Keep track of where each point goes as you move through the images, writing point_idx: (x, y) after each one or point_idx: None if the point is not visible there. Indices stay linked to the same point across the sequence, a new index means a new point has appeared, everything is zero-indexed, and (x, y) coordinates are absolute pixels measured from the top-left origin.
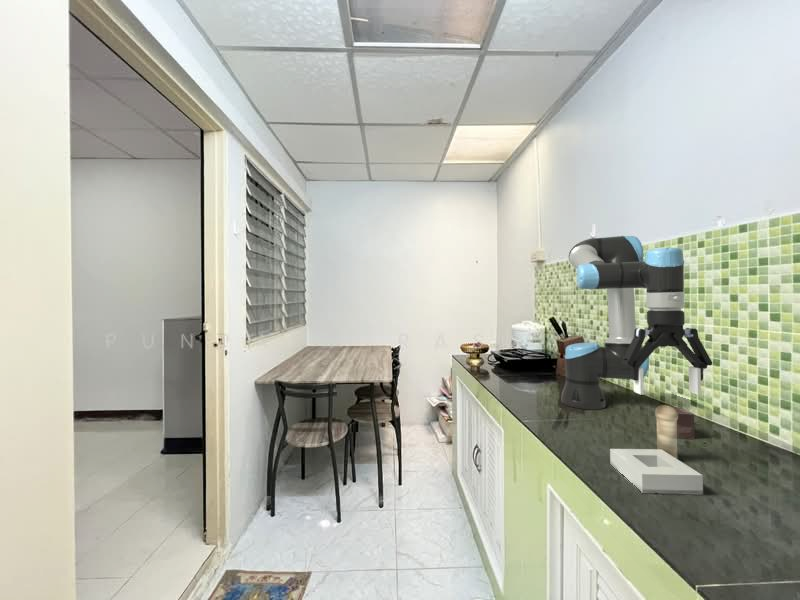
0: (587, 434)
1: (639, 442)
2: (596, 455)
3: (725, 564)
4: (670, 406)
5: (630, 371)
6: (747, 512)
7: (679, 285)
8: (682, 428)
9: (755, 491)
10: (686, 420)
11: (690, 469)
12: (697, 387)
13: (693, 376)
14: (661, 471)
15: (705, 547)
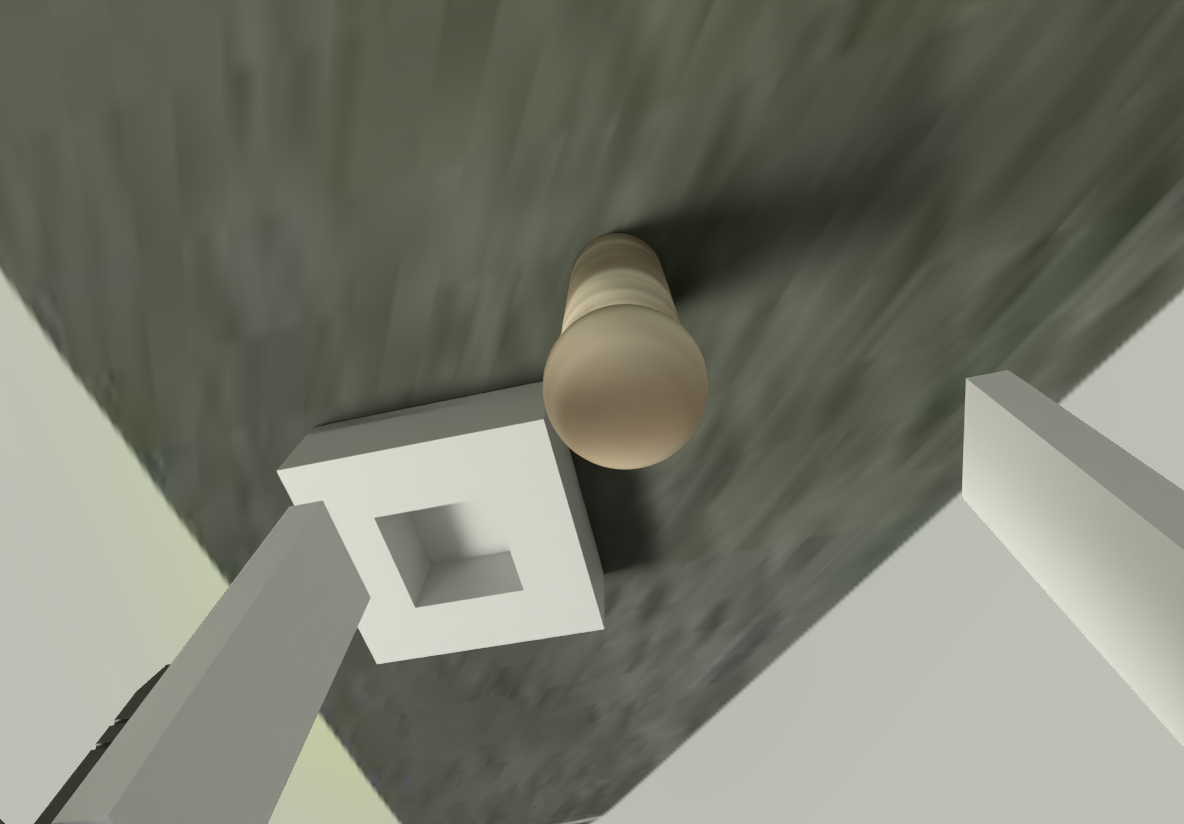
0: None
1: (544, 36)
2: (253, 332)
3: (498, 805)
4: (659, 430)
5: (68, 781)
6: (683, 637)
7: None
8: None
9: (817, 513)
10: None
11: (581, 596)
12: (1014, 548)
13: (1119, 604)
14: (456, 632)
15: (482, 774)
